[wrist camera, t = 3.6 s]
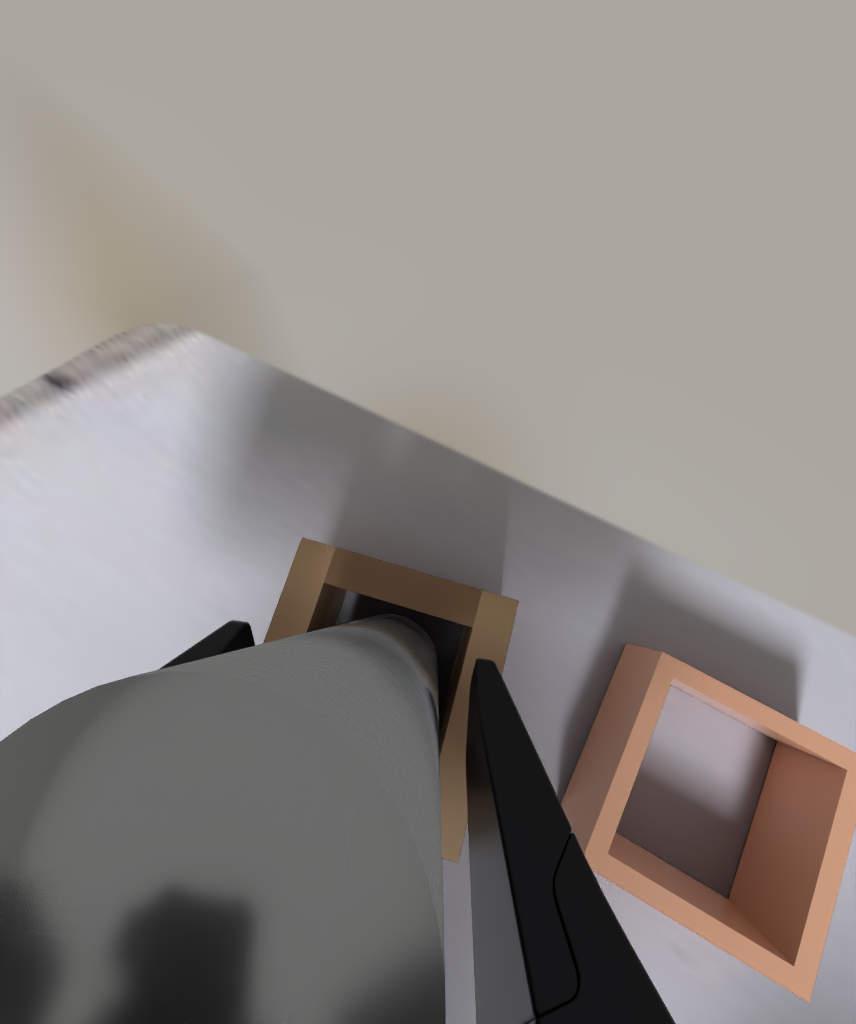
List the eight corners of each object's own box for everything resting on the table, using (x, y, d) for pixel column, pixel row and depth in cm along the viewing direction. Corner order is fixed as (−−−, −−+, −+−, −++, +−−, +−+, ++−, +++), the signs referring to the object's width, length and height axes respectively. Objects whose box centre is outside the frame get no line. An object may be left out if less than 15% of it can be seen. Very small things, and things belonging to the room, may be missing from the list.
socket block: (739, 928, 13) (809, 1003, 11) (555, 817, 14) (580, 863, 11) (798, 734, 14) (872, 761, 12) (626, 643, 15) (662, 651, 13)
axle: (455, 690, 15) (564, 1197, 2) (362, 741, 15) (-124, 1666, 2) (409, 596, 16) (304, 580, 3) (320, 642, 15) (-207, 835, 3)
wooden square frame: (452, 799, 14) (457, 863, 11) (265, 736, 15) (214, 777, 11) (500, 600, 16) (518, 600, 12) (330, 550, 16) (301, 537, 13)
